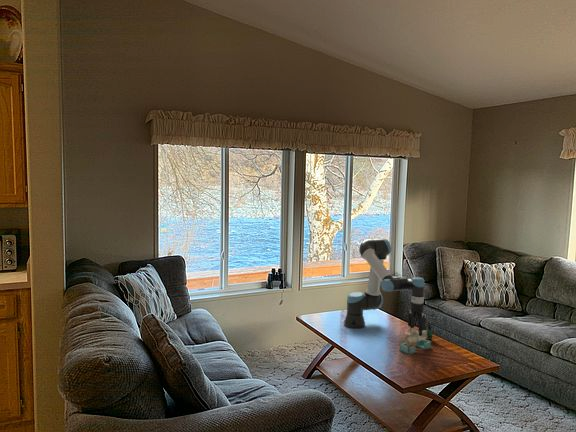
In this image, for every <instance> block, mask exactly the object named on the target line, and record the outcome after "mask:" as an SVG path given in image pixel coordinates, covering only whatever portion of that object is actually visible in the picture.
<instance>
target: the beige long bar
mask: <svg viewBox="0 0 576 432" xmlns="http://www.w3.org/2000/svg"><path fill="white" fill-rule="evenodd" d="M418 330H419V329H417V330H415V331H413V332H406V333H405V336H404V337H405V338H404V343H407V344H410V345H411V344H413V343H416V342H417V333H418ZM426 338H427V329H425V330H423V331H422V336H421V340H424V339H426Z"/></svg>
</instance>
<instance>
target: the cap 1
mask: <svg viewBox="0 0 576 432" xmlns="http://www.w3.org/2000/svg"><path fill="white" fill-rule="evenodd" d="M399 352H402V353H405V354H407V355H412V354H415V353H416V345H412V346H408V343H407V342H402V343H399Z"/></svg>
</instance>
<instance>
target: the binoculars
mask: <svg viewBox="0 0 576 432" xmlns="http://www.w3.org/2000/svg"><path fill="white" fill-rule="evenodd" d="M426 331H427V338H426V339H425V340H428V341H430V342H431V343H433V341H434V340H433V333H434V330H433V329H432V326H431V323H427V325H426Z"/></svg>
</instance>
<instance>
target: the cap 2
mask: <svg viewBox="0 0 576 432" xmlns="http://www.w3.org/2000/svg"><path fill="white" fill-rule="evenodd" d="M415 347H418V348H420V349H422V350H429V349H431V348H432V342H430V341H428V339H427V340H425V339H424V340H420V341H417V342H415Z"/></svg>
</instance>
